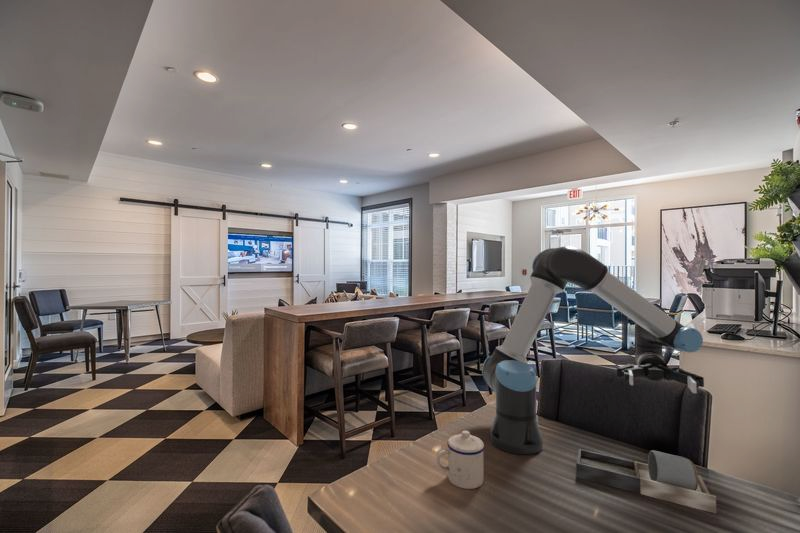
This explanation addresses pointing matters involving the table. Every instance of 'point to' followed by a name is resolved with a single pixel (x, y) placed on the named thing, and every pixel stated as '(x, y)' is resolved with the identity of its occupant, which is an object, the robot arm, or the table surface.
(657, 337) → the robot arm
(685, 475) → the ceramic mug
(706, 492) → the box
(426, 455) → the table surface
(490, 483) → the table surface
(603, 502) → the table surface
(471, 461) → the teacup with lid
